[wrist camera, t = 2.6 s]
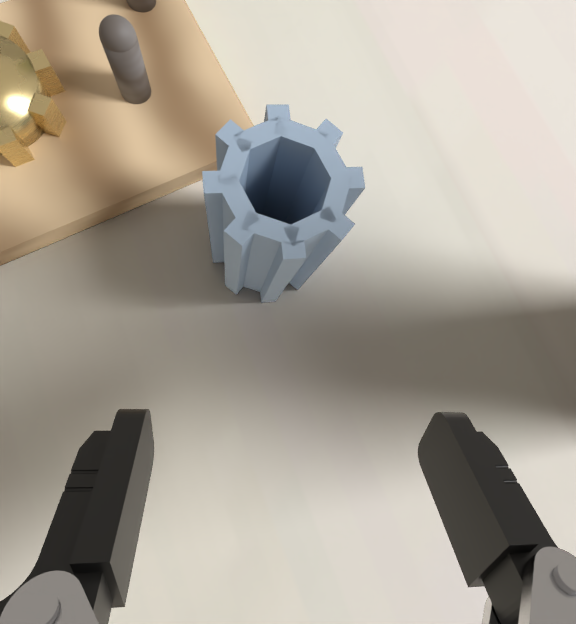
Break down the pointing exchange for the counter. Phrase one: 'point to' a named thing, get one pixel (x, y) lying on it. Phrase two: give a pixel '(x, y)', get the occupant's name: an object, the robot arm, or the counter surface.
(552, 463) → the counter surface
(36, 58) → the gear
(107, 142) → the gear board
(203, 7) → the counter surface
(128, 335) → the counter surface
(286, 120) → the pinion
